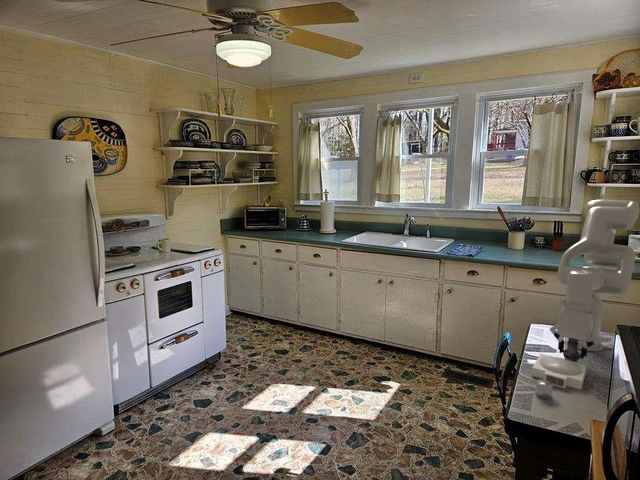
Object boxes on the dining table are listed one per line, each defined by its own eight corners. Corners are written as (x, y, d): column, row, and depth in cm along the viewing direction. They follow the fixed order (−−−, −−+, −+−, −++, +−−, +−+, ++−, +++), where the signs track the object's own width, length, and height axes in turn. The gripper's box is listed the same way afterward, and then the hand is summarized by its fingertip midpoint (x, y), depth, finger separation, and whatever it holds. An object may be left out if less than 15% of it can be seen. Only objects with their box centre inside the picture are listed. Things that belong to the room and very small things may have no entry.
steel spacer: (546, 391, 124) (547, 379, 123) (554, 399, 120) (556, 387, 119) (532, 391, 124) (533, 379, 123) (540, 399, 120) (541, 387, 119)
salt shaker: (583, 367, 141) (587, 334, 139) (565, 365, 142) (568, 332, 140) (576, 359, 146) (580, 328, 145) (558, 358, 148) (562, 326, 146)
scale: (539, 361, 145) (540, 351, 144) (586, 373, 136) (587, 363, 136) (529, 379, 132) (530, 368, 131) (580, 393, 123) (581, 382, 123)
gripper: (547, 303, 144) (542, 350, 147) (605, 314, 132) (598, 366, 135) (552, 298, 150) (547, 344, 152) (608, 309, 138) (602, 359, 141)
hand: (571, 354), depth 144 cm, fingers closed on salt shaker, 5 cm apart
